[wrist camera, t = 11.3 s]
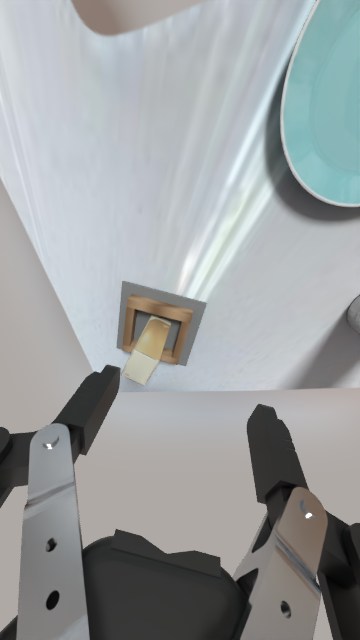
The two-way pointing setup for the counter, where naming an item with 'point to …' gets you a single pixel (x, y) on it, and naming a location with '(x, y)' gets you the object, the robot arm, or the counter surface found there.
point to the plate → (325, 104)
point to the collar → (163, 310)
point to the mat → (144, 316)
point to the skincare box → (147, 350)
